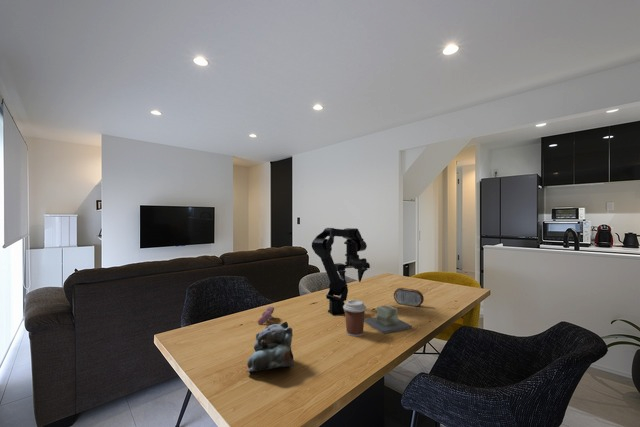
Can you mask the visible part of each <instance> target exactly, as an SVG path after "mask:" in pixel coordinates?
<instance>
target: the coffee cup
mask: <svg viewBox="0 0 640 427" xmlns="http://www.w3.org/2000/svg"><path fill="white" fill-rule="evenodd" d="M343 309H344V310H345V311H344V312H345V316H344V317H345V325H346V326H345V327H346V335H348V336H351V337H361V336H363V335H364V325H365V322H364V319H365V314H366V311H367V306H366V305H365V303H364V302H363V301H362V300H359V299H349V300H346V301H345V305H344V306H343Z"/></svg>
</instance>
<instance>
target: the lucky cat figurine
mask: <svg viewBox="0 0 640 427" xmlns="http://www.w3.org/2000/svg"><path fill="white" fill-rule="evenodd" d="M255 340H256V341H255V342H254V344H253V349H254V352H253V353H252V354H251V355H250V356H249V358H248V360H247V364H246V366H247V367H248V369H247V370H246V372H247V373H248V372H249V374H250V373H253V372H257V371H262V370H263V371H264V370H270V369H271V370H272V369H277V368H285V367H286V368H287V367H293V366H295V364H294V363H295V362H294V354H293V351H292V340H293V328H292V326H291V327H289V324H288V322H287V321H285V322H282V323H281V324H280V323H279V324H278V323H276V324H271V325H266V327H265V328H264V329H263V330H262V331H258V333H256V334H255Z"/></svg>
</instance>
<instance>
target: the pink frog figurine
mask: <svg viewBox="0 0 640 427" xmlns="http://www.w3.org/2000/svg"><path fill="white" fill-rule="evenodd" d="M274 310H275V308H274V306H268V307H267V308H266V310H265V311H263V312H262V314H261V317H260V318H259V319H258V320H257V324H258V325H262V324H265V323H268V322H269V320H270V319H272V318H273V315H272V314H273V313H274Z"/></svg>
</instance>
